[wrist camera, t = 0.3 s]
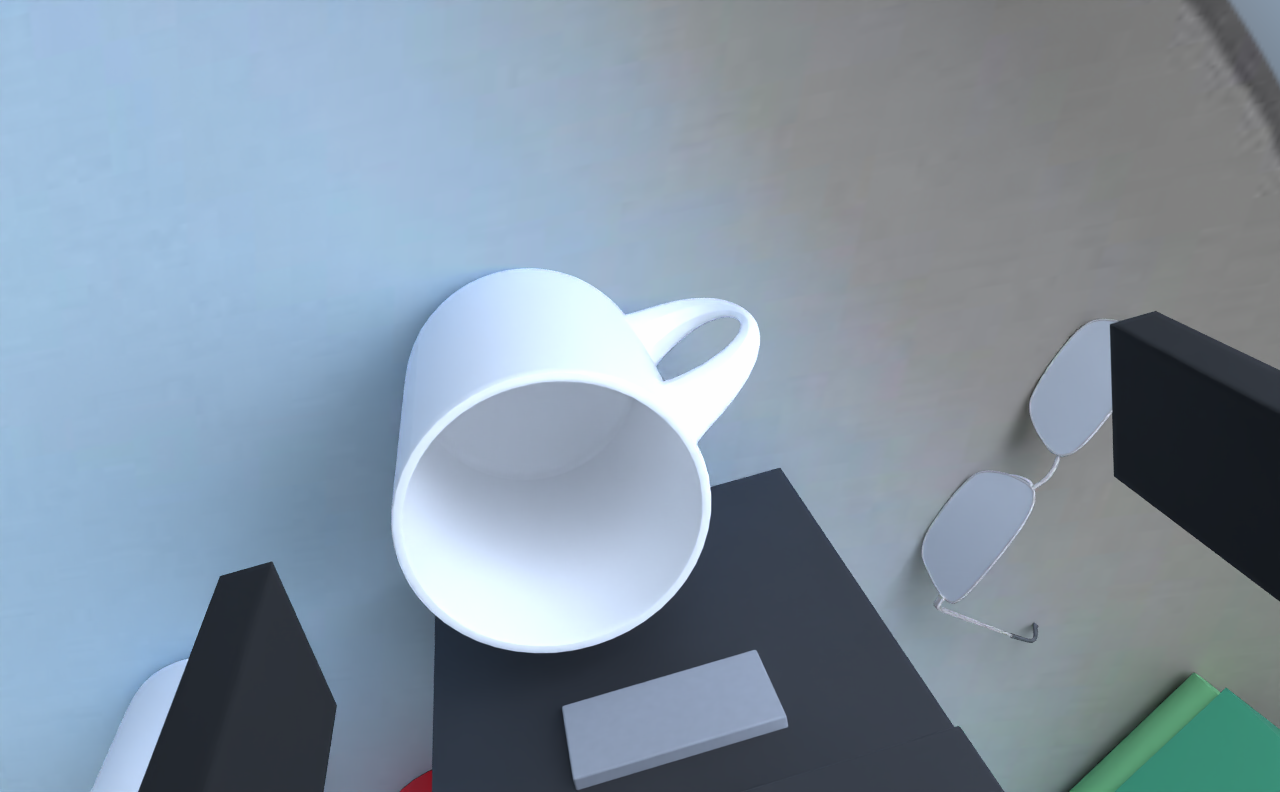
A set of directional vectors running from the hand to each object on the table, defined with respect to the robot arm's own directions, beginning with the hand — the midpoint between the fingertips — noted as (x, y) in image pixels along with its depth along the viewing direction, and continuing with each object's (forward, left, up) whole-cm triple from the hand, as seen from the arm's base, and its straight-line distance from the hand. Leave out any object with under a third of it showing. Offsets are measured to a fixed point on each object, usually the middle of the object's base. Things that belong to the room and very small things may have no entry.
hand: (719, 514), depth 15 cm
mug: (+5, -1, -21) cm, 22 cm away
